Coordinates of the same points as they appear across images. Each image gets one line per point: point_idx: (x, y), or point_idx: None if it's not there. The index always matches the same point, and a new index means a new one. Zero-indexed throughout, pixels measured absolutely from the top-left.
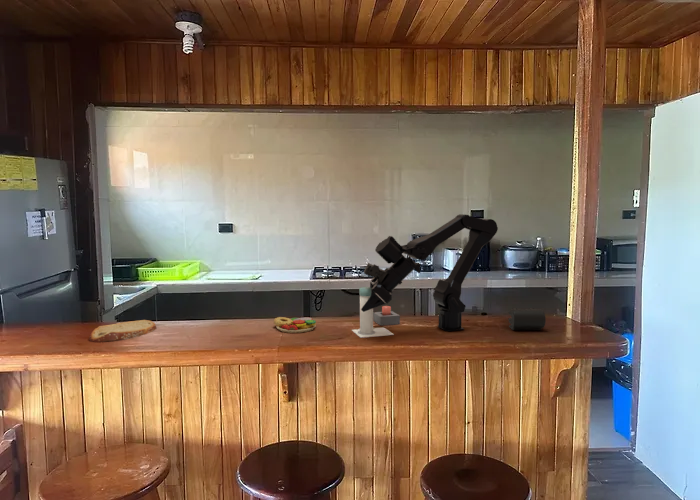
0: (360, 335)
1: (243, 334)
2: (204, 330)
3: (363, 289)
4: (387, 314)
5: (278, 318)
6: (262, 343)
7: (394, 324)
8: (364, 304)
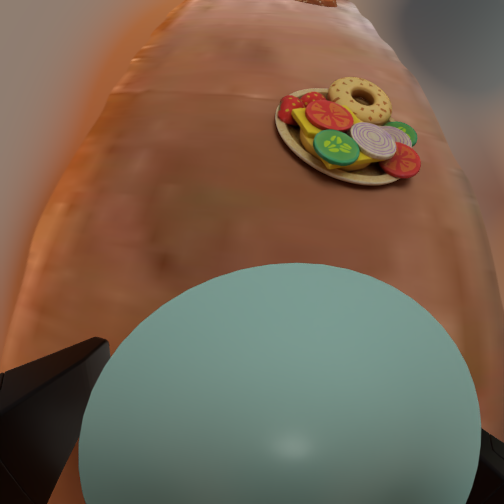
0: None
1: (274, 50)
2: (310, 25)
3: (138, 353)
4: None
5: (364, 83)
6: (179, 68)
7: None
8: (72, 362)
